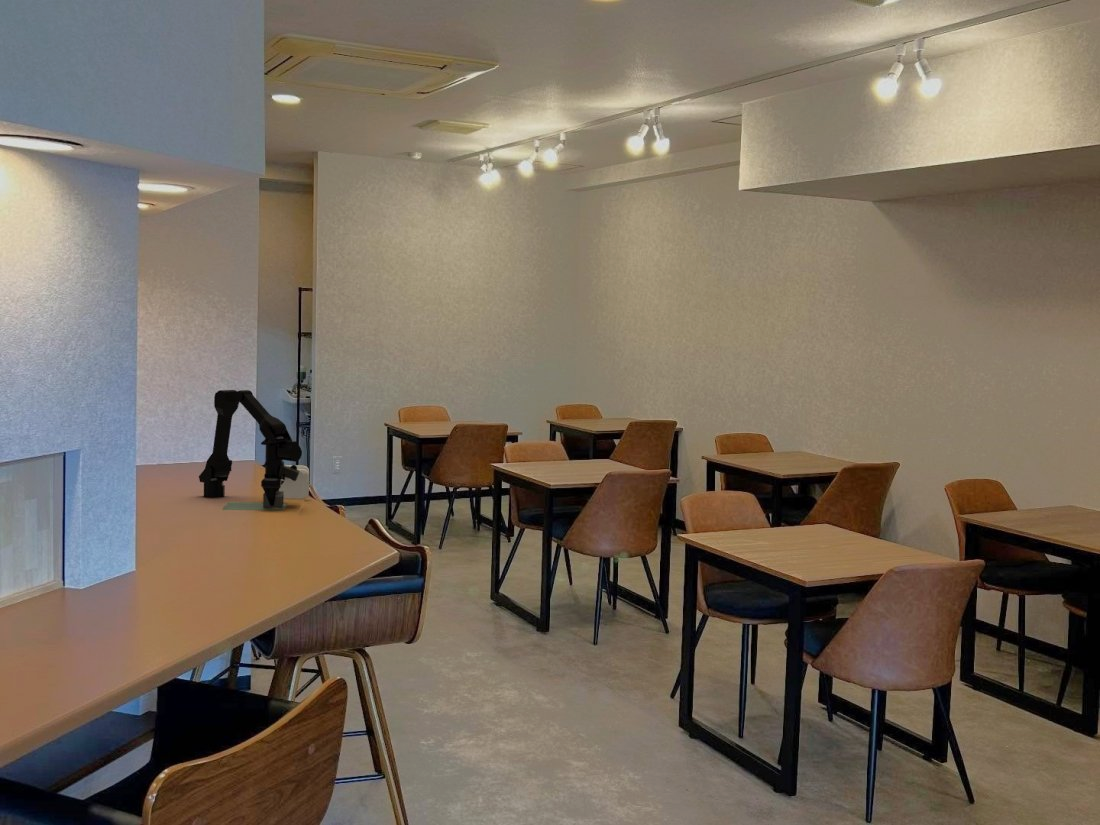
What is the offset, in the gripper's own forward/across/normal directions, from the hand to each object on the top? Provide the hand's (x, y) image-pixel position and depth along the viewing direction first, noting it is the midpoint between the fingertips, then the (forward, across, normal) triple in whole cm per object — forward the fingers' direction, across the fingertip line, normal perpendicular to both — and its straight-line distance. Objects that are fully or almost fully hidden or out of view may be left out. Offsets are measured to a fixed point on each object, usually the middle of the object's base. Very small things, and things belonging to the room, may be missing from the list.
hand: (273, 503), depth 351 cm
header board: (+2, 0, +6) cm, 6 cm away
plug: (+1, 0, 0) cm, 1 cm away
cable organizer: (+2, +21, -3) cm, 21 cm away
